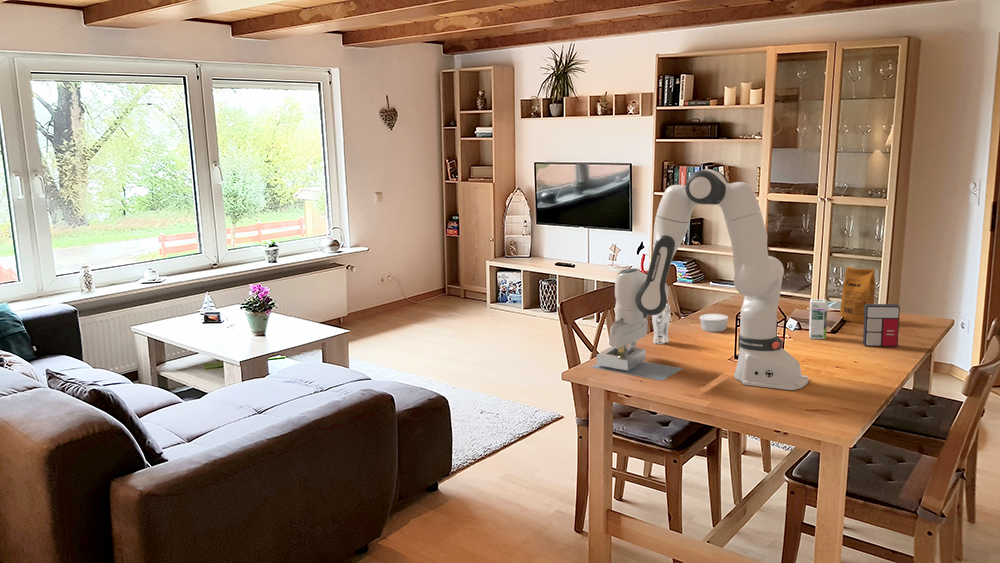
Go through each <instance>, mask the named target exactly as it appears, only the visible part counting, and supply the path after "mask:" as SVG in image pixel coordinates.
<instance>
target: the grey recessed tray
mask: <svg viewBox="0 0 1000 563" xmlns="http://www.w3.org/2000/svg"><path fill="white" fill-rule="evenodd" d="M629 346H630V345H628V347H627V350H628V351H629V355H628V356H626V357H620V356H618V349H617V348H611V347H610V346H609V347H608V348H605V349H604V350H602V351H601V352H599V353H597V354H596V355H595V357H596V364H597V365H600V366H605V367H610V368H616V369H621V370H627V371H628V370H630V369H631V368H633V367H634V366H636V365H637V364H639V363H640V362H642V361H643V362H644V361H645V360H646V359H647V358H646V348H641V347H636V346H635V347H629Z"/></svg>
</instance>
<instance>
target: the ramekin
mask: <svg viewBox="0 0 1000 563" xmlns="http://www.w3.org/2000/svg"><path fill="white" fill-rule="evenodd" d="M699 320H700V327H701V330H703V331H705V332H709V333H710V332H711V333H720V332H724V331H725V330H726V329H727V327H728V322H729V316H728V315H725V314H721V313H705V314H701V315H700V316H699Z"/></svg>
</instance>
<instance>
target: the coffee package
mask: <svg viewBox="0 0 1000 563" xmlns="http://www.w3.org/2000/svg"><path fill="white" fill-rule="evenodd" d="M875 281H876V280H875V268H861V269H860V268H855V267H853V266H852V267H851V266H847V267H846V271H845V275H844V281H843V286H842V293H841V303H840V307H839V308H840V311H839V312H840V316H842V317H844V320H845V321H844V322H851V323H855V324H864V306H865V304H875V296H876V295H875V294H876V293H875V291H876V283H875Z"/></svg>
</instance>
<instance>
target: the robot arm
mask: <svg viewBox="0 0 1000 563" xmlns="http://www.w3.org/2000/svg"><path fill="white" fill-rule="evenodd" d="M727 179H728V178H726V176H725V175H724V173H722V172H720V171H718V170H714V169H709V168H707V169H701V170H696V171H695V172H693V173H692V174H690V176H689V177H688V178H687V180H686V182H685V185H681V184H672V185H670V186H668V187H667V188H666V189H665V190H664V192H663V194H662V197H661V199H660V201H659V204H658V207H657V210H656V214H655V218H654V225H653V235H652V236H653V237H652V239H653V240H652V241H653V242H652V256H651V260H650V264H649V268H648V271H647V274H646V273H643V272H642V271H640V269H638V268H628V269H624V270H621V271H619V272H618V273H617V274H616V277H615V283H614V297H615V306H614V312H615V313H614V314H615V315H614V316H615V321H613V323H612V325H611V327H610V329H609V336H608V337H609V338H608V339H609V342H608V344H609V347H611V348H617V349H619V348H621V347H623V346H624V357H626V356H628V355H629V351H628V350H627V347H628V346H629V347H635V348H636V347H637V341H638V340H641V339H642V338H645V337H647V334H648V325H649V324H648V323H649V322H648V317H649V316H652V315H657V314H659V313H661V312H662V311H663V310H664V309H665V307H666V303H668V302H667V301H668V298H669V296H670V287H669V285H668V284H667V279H668V274H669V270H670V268H671V267H670V266H671V265H672V264H671V263H672V260H673V258H674V256H675V254H676V252H677V250H678V249H679V247H680V246H681V244H682V243H683V241H684V239H685V237H686V235H687V231H688V229H689V226H690V222H691V217H692V214H693V211H694V209H695V208H696V207H697V205H715V206H717V205H718V206H719V207H720V209H721V212H722V214H723V217H724V221H725V224H726V229H727V232H728V233H727V234H728V235H729V236H728V237H729V239H730V242H731V249H732V258H733V259H732V261H733V268H734V271H733V272H734V277H733V285H734V287H735V290H736V291H737V292H738V293H739V294H740V295H742V296H743V302H742V306H741V308H740V319H739V320H740V321H739V325H740V326H739V333H738V340H737V346H738V347H737V348H738V358H737V363H736V367H735V370H734V371H735V372H734V374H733V377H734V379H736V380H737V381H740V382H741V384H743V385H745V386H753V387H759V388H761V387H762V388H767V389H768V388H770V389H779V390H786V391H787V390H788V391H795V390H799V389H802V388H804V387H806V386H807V385H808V383H809V377H808V376H807V375H805V374H802V368H801V365H800V362H799V360H797V359H796V358H795V357H794V356H793V355H791V354H790V353H789V352H788V351H786V350H785V348H783V343H784V340H785V339H784V337H783V338H780V337H779V336H778V334H777V330H778V329H777V325H778V309H779V302H780V298H781V292H782V291H781V290H782V284H783V278H784V273H785V269H784V265H783V263H782V261H781V260H779V259H778V258H776V257H774V256H771V255H769V252H768V232H767V229H766V225H765V222H764V218H763V214H762V212H761V208H760V205H759V202H758V200H757V199H758V198H757V197H756V195H755V192H754V190H753V188H752V187H751V186H750V184H749V183H747V182H743V181H736V182H731V183H729V182H728V180H727Z"/></svg>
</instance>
